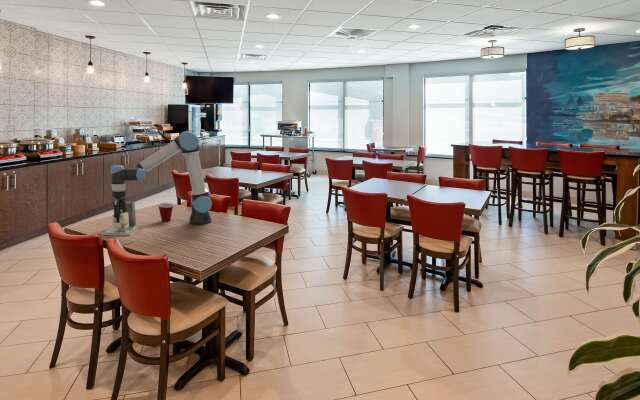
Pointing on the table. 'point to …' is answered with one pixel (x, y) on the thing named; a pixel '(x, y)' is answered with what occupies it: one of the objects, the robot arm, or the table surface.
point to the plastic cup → (165, 211)
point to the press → (132, 222)
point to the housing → (122, 221)
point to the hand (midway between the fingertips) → (121, 225)
